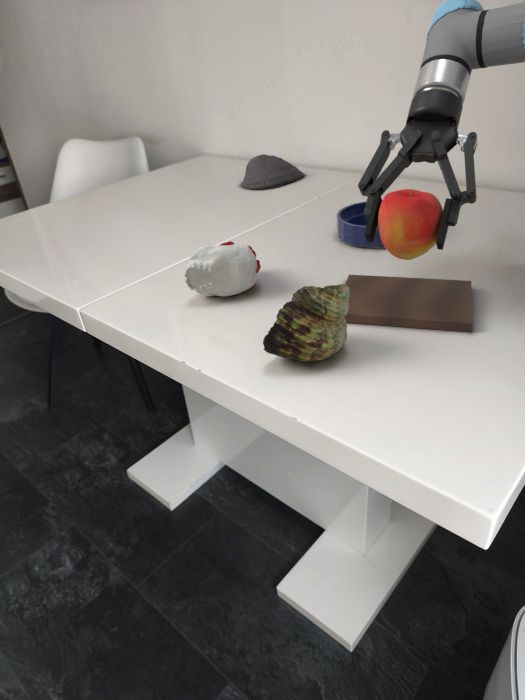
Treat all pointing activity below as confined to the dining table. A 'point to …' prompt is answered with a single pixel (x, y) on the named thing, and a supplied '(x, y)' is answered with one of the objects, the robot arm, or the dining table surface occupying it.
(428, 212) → the apple
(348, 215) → the bowl
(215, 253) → the white rounded lumpy piece
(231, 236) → the dining table surface
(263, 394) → the dining table surface
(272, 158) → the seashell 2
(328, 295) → the seashell
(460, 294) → the board
